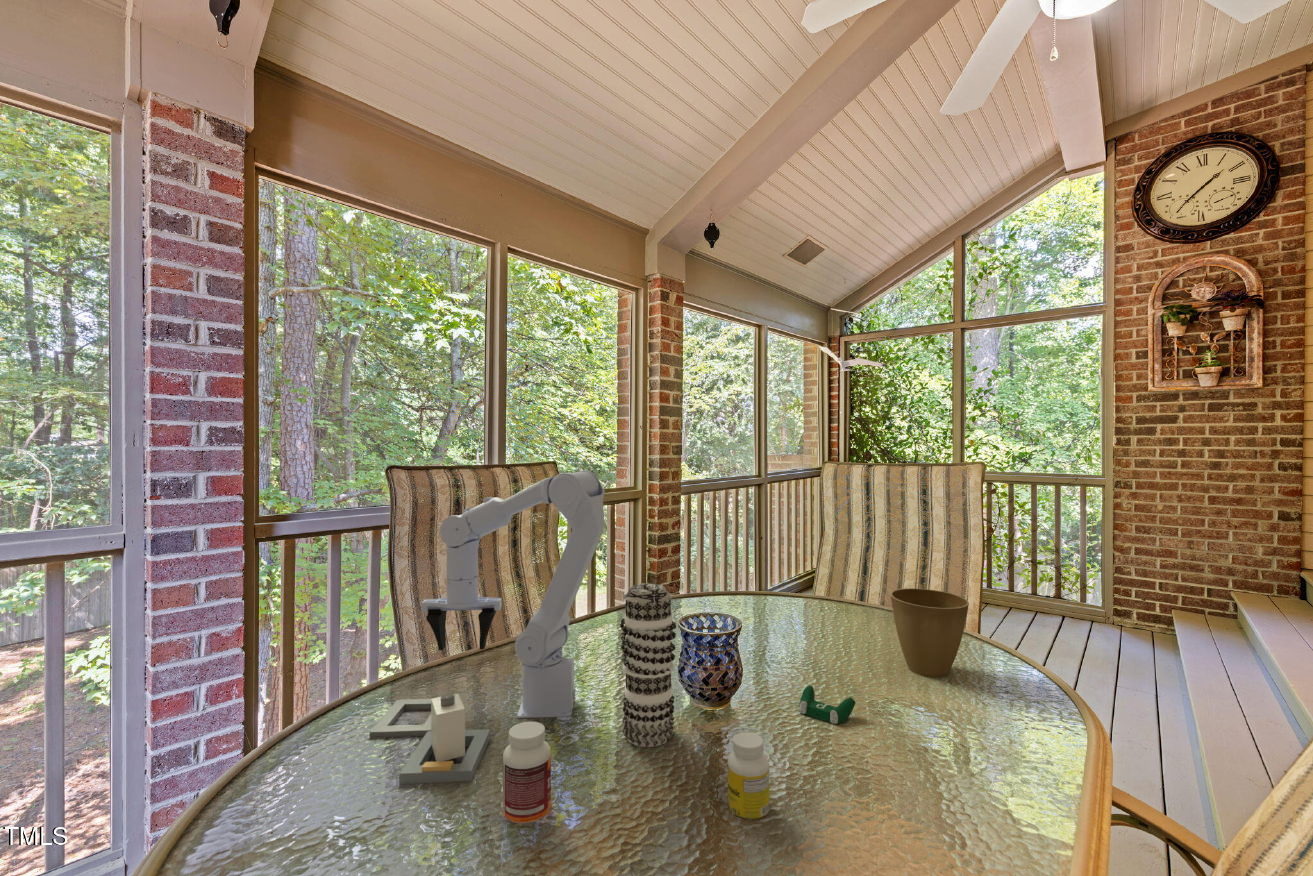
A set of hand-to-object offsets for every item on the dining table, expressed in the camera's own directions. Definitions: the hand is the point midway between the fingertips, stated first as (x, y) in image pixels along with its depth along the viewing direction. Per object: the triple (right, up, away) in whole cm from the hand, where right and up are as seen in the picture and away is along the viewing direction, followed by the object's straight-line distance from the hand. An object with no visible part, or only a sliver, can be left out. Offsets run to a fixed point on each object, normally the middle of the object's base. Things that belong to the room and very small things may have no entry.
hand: (462, 648), depth 111 cm
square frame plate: (-5, -9, -9) cm, 14 cm away
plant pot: (+95, -9, +11) cm, 96 cm away
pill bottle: (+20, -9, -35) cm, 41 cm away
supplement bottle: (+49, -9, -35) cm, 61 cm away
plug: (+5, -7, -23) cm, 24 cm away
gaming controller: (+69, -7, -6) cm, 70 cm away
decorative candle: (+36, -9, -16) cm, 40 cm away
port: (+5, -9, -23) cm, 25 cm away
